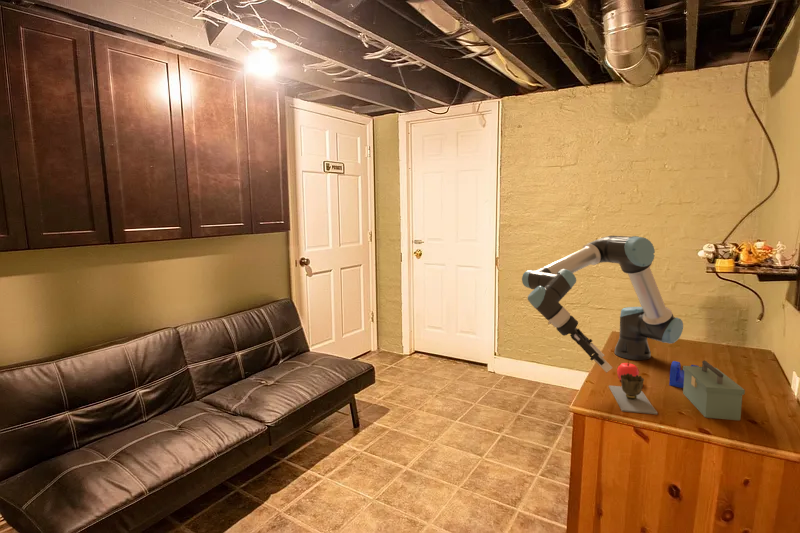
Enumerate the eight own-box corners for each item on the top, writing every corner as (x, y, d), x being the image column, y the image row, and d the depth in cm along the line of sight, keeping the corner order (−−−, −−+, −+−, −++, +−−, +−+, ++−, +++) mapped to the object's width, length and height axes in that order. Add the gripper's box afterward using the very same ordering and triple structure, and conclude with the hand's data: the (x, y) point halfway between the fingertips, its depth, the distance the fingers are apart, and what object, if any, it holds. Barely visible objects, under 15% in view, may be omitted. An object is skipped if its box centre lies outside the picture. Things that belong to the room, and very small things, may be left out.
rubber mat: (608, 386, 173) (608, 385, 172) (639, 389, 170) (639, 387, 170) (621, 411, 151) (622, 409, 151) (657, 414, 149) (657, 413, 149)
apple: (629, 386, 173) (630, 366, 172) (612, 379, 180) (612, 360, 179) (643, 382, 176) (644, 363, 175) (625, 376, 183) (626, 357, 182)
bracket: (694, 391, 167) (695, 368, 166) (669, 385, 173) (670, 363, 172) (703, 378, 180) (705, 356, 179) (680, 373, 186) (681, 352, 185)
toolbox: (680, 392, 166) (683, 356, 164) (714, 395, 163) (717, 358, 161) (703, 417, 146) (706, 376, 144) (742, 421, 143) (745, 378, 141)
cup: (645, 397, 161) (646, 376, 160) (639, 404, 155) (641, 382, 155) (623, 392, 166) (624, 371, 165) (617, 398, 160) (618, 377, 159)
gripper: (552, 320, 176) (591, 358, 174) (558, 337, 152) (604, 382, 150) (566, 307, 174) (606, 346, 172) (575, 323, 150) (621, 368, 148)
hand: (605, 363), depth 161 cm, fingers open, 13 cm apart
